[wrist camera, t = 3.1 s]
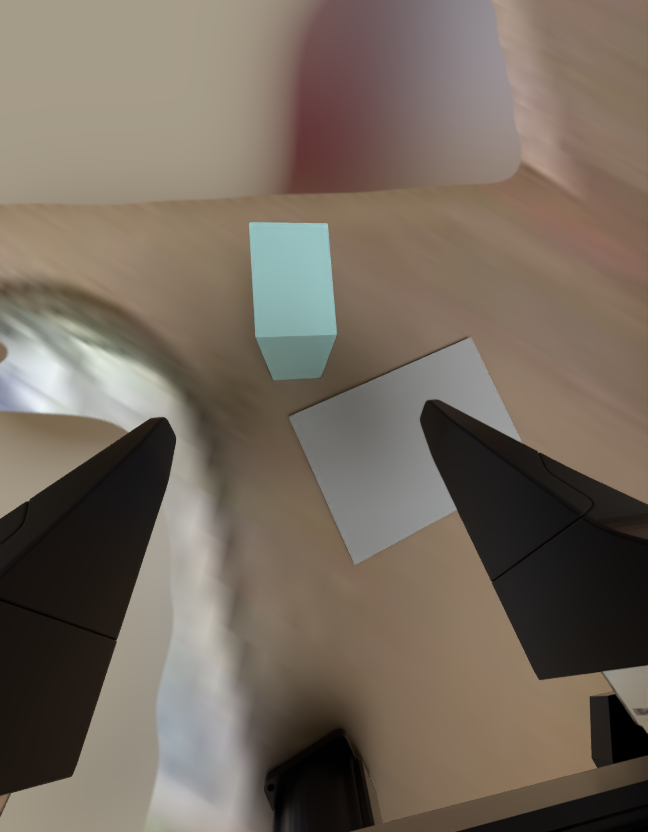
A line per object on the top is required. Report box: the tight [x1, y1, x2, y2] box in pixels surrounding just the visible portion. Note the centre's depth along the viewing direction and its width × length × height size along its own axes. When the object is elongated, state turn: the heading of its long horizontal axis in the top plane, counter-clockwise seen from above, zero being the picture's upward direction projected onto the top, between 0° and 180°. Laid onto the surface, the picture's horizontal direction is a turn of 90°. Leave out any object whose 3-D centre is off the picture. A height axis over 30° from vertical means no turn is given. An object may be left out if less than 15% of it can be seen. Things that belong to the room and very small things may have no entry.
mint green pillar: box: [249, 222, 337, 380], centre depth 17 cm, size 4×6×9 cm, turn 4°
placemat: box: [289, 337, 522, 565], centre depth 22 cm, size 18×13×1 cm
